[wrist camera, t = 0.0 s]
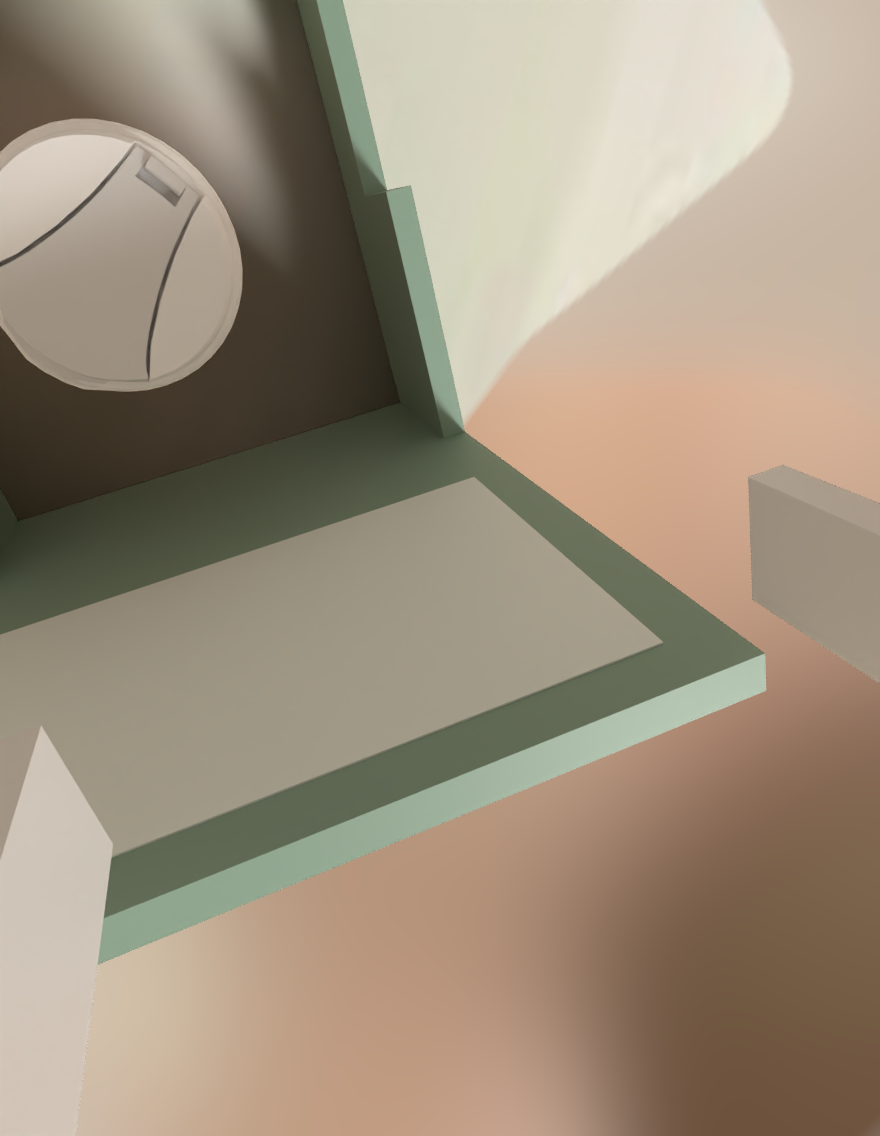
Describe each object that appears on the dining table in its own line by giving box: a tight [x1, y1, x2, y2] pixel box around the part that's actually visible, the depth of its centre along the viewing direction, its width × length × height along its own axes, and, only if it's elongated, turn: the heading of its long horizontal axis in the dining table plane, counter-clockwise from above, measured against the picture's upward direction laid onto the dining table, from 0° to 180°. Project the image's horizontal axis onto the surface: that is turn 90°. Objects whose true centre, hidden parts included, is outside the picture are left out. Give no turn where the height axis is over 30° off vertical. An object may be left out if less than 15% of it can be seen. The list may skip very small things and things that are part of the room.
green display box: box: [0, 0, 766, 964], centre depth 22 cm, size 22×22×28 cm
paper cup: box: [0, 119, 243, 392], centre depth 28 cm, size 8×8×14 cm
